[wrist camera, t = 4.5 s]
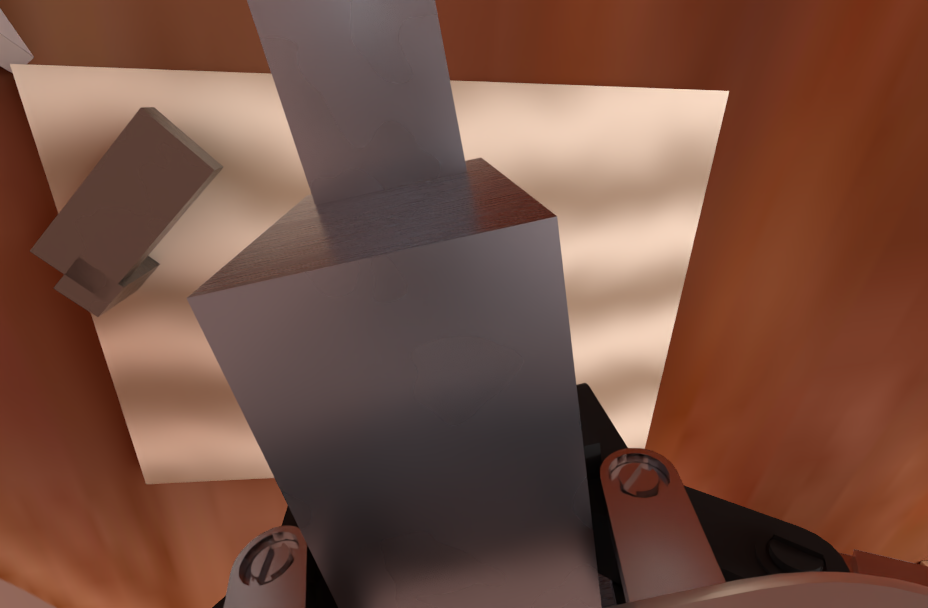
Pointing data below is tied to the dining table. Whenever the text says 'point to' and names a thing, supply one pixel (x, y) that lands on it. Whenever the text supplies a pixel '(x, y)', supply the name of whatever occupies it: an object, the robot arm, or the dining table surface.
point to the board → (284, 185)
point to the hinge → (11, 46)
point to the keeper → (125, 211)
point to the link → (406, 334)
